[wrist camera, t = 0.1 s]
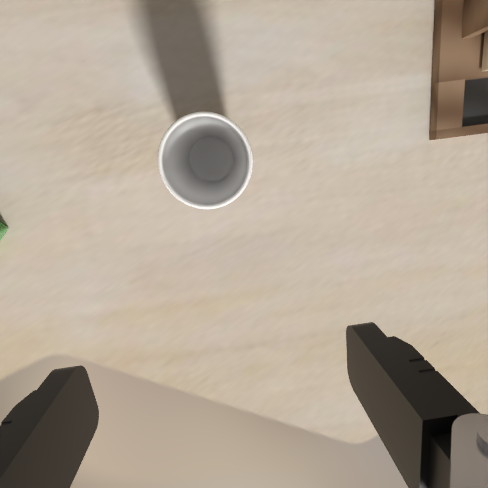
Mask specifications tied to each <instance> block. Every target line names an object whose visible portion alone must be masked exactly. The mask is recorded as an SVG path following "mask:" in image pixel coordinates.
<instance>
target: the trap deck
mask: <svg viewBox="0 0 488 488" xmlns="http://www.w3.org/2000/svg"><path fill="white" fill-rule="evenodd" d="M487 30H488V0H435V18H434V42H433V67H432V91H431V116H430V140H435V139H443V138H451V137H458V136H466V135H474V134H481V133H488V71H482V60H483V47H484V35H485V31H487Z"/></svg>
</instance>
